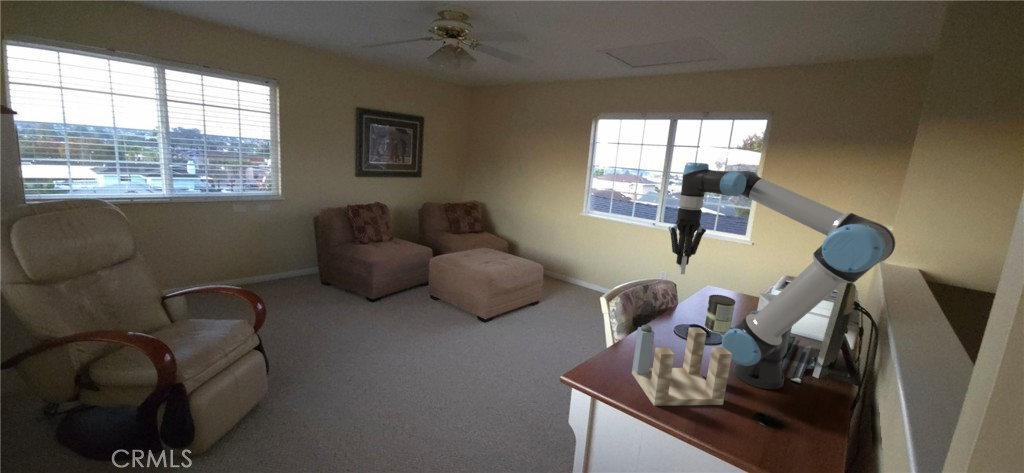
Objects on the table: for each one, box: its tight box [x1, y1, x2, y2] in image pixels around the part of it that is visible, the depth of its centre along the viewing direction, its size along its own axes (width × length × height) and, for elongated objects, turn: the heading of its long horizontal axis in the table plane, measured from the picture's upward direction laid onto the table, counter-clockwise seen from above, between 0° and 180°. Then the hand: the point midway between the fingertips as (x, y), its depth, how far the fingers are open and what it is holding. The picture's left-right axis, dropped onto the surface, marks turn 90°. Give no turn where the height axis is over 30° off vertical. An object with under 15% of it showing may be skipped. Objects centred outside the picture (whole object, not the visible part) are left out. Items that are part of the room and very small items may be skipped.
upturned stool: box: [631, 327, 732, 407], centre depth 135 cm, size 22×18×17 cm
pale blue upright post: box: [632, 324, 656, 374], centre depth 140 cm, size 4×4×16 cm
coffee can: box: [704, 294, 736, 335], centre depth 182 cm, size 10×10×14 cm
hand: (680, 273), depth 150 cm, fingers closed
